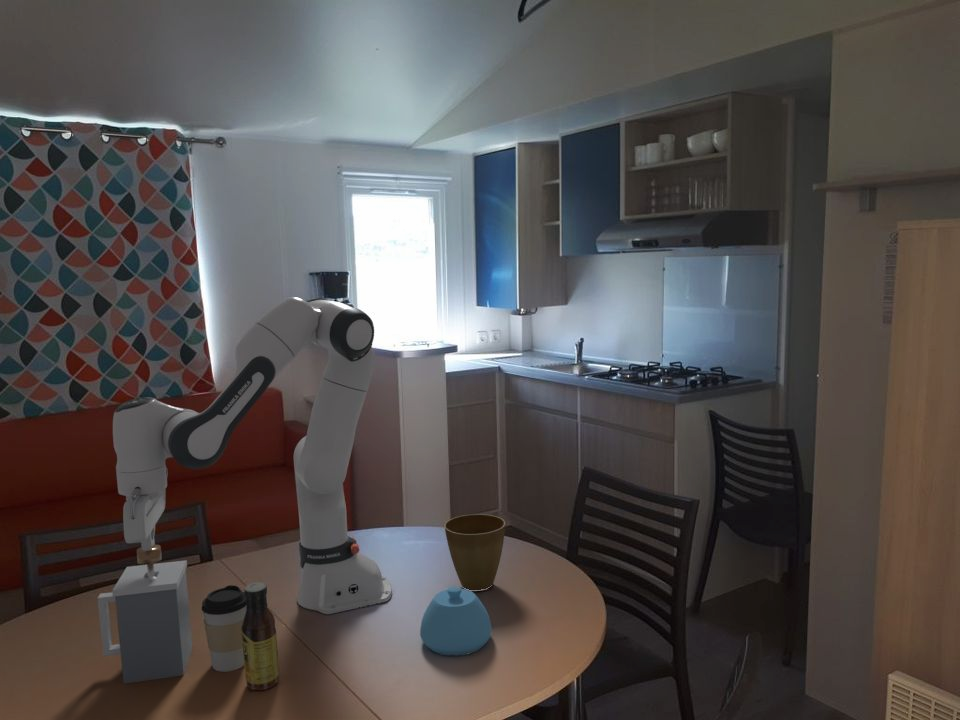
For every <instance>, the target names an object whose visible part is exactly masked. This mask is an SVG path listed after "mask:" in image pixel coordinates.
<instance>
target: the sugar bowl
mask: <svg viewBox="0 0 960 720" xmlns="http://www.w3.org/2000/svg"><path fill="white" fill-rule="evenodd" d="M492 633H493V632H492V622H491V619H490V616H489V613H488V611H487V609H486V607H485V606H484V604H483V603H482V601H481V600H480V598H479V597H478V596H477V595H476V594H475V592H471V591H469V590H466V589H464V588H462V587H460V586H450V587H448V588H447V589H444V590H441V591H439V592H438V593H436V594H435V595H434V596H433V598H431V600H430V602H429V604H428V606H427V607H426V609H425V611H424V612H423V616H422V618H421V623H420V630H419V634H420V639H421V640H422V642H423V643H424V645H425V646H426V647H427V648H428V649H430V651H432V652H434V653H436V652H437V653H436V654H438V653H440V654H439V655H442V654H444V655H443V656H447V655H461V656H464V655H463V654H466V655H469V654H468V653H470V654H472V653H471V652H473V653H475V652H477V651H479V650H480V649H482V648H483V647H484V646H485V644H487V642H488V641H489V640H490V638H491V636H492ZM478 649H479V650H478ZM476 650H477V651H476ZM474 651H475V652H474Z"/></svg>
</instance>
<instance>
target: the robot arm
mask: <svg viewBox="0 0 960 720" xmlns="http://www.w3.org/2000/svg"><path fill="white" fill-rule="evenodd" d="M374 325H375V324H374V322H373V320H372V318H371V317H370V316H369V315H368V314H367V313H366V312H365V311H363V310H362V309H359V308H358V307H357V308H356V307H353V306H351V305H349V304H346V303H343V302H342V301H341V302H340V301H333V300H328V299H326V298H322V297H321V298H320V297H314V298H309V299H306V300H304V299H302V298H301V297H296V296H288V297H286V298H285V299H283V300H281V301H280V302H278V303H277V304H276V305H274V306H273V307H271V309H269V310H268V311H267V312H265V313H264V314H263V315H262V316H261V317H260V318H258V320H257V321H255V323H254V324H253V325H252V326H251V327H250V328H249V329H248V330H247V331H246V332H245V334H244V335H243V336H242V338H241V339H240V340H239V342H238V343H237V345H236V347H235V353H234V354H235V356H234V357H235V361H236V369H235V370H236V371H235V374H234V376H233V378H232V379H231V380H230V382H229V383H228V384H227V385H226V387H225V388H224V389H223V390H222V391H221V392H220V394H218V396H216V398H215V399H214V400H213V402H212V403H211V404H210V405H209V406H208V407H207V408H206V409H204V410H203V411H202V412H197V411H195V410H193V409H189V408H182V407H176V406H173V405H169V404H167V403H164V402H162V401H159V400H157V399H156V398H154V397H151V396H146V397H145V396H144V397H138V398H134V399H131V400H128V401H125V402H123V403H122V404H120V405H119V406H118V407H117V408H116V409H115V411H114V413H113V418H112V439H113V440H112V441H113V442H112V443H113V448H114V451H115V454H116V460H117V461H116V465H115V472H116V473H115V474H116V483H117V493H118V494H119V495H121V496H125V502H124V504H123V508H122V510H123V511H122V512H123V513H122V515H123V517H122V520H123V522H122V523H123V535H124V536H123V537H124V541H125V542H126V544H137V543H141V547H142V551H151V550H152V548H153V546H154V545H156V543H155V532H156V525H157V523H158V522H159V520H160V518H161V516H162V514H163V513H164V511H165V508H166V494H167V493H166V491H167V490H166V488H167V487H168V476H169V474H168V472H169V471H168V468H167V465H166V460H167V459H169V458H173V459H174V461H176V463H178V465H180V466H182V467H184V468H185V469H188V470H202V469H207V468H208V467H211V466H212V465H214V464H216V463H217V462H218V461H219V460H220V458H221V457H222V456H223V454H224V452H225V451H226V448H227V445H228V443H229V440H230V437H231V435H232V433H233V432H234V430H235V429H236V427H237V426H238V424H239V423H240V422H241V421H242V420H243V419H244V417H245V416H247V414H248V413H249V411H250V410H251V409H252V408H253V407H254V405H255V404H256V403H257V401H258V400H260V398H261V396H263V394H264V393H265V392H266V390H267V389H268V388H269V386H270V385H271V384H272V383H273V382H274V380H275V379H276V378H277V377H278V376H279V375H280V374H281V373H282V372H283V371H284V370H285V368H286V367H288V365H290V363H291V362H292V361H293V360H294V359H295V358H296V357H297V355H299V353H301V351H302V350H303V349H304V348H305V347H306V346H308V345H309V344H314V345H315V346H318V347H319V348H321V349H324V350H327V354H328V359H327V360H328V361H327V364H326V366H325V368H324V371H323V374H322V377H321V379H320V383H319V386H318V389H317V392H316V395H315V399H314V401H313V405H312V407H311V408H312V409H311V413H310V418H309V422H308V428H307V432H306V435H305V436H304V437H302V438H301V439H300V440H299V442H298V443H297V444H296V446H295V448H294V452H293V467H294V477H295V478H294V480H295V489H296V498H297V509H298V518H299V519H298V520H299V533H300V534H299V536H300V537H299V538H300V541H299V543H298V545H299V546H298V558H299V560H298V562H299V564H300V567H301V568H300V569H301V571H300V584H299V590H298V594H297V595H298V596H297V598H296V599H297V604H298V605H299V606H301V607H303V608H305V609H307V610H313V611H317V612H320V613H322V614H324V615H331V614H332V615H333V614H336V613H340V612H345V611H350V610H354V609H359V607H360V608H362V607H363V606H364V607H368V606H367V605H369V606H374V605H377V604H376V603H378V604H381V603H382V602H383V603H386V602H388V601H389V600H390V599H391V597H392V595H393V587H392V584H391V582H390V580H389V579H388V578H387V577H385V576H383V575H382V572H381V569H380V567H379V565H378V564H377V563H376V561H375V560H374V559H372V558H370V557H368V556H366V555H365V554H363V553H361V552H360V545H359V544H358V543H357V540H356V539H355V537H354V536H349V535H348V523H347V522H348V521H347V520H348V518H347V506H346V500H345V499H346V498H345V493H344V482H345V480H346V477H347V472H348V467H349V465H350V464H349V463H350V459H351V455H352V450H353V448H354V447H353V445H354V441H355V437H356V431H357V425H358V422H359V418H360V415H361V413H362V409H363V406H364V403H365V401H366V398H367V394H368V391H369V388H370V384H371V380H372V375H373V372H374V365H375V357H376V355H375V350H374V348H373V342H374V337H375V326H374ZM364 607H363V608H364Z"/></svg>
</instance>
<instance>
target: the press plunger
mask: <svg viewBox="0 0 960 720" xmlns="http://www.w3.org/2000/svg"><path fill="white" fill-rule="evenodd" d="M161 547H162V546H161V545H160V544H154V546H153V548H152V550H151V551H142V546H141V547H138V548H137V549H136V558H137V559H136V560H137V564H138V565H147V571H148V578H149V577H155V575H154V564H157V563H158V562H160V561H161V560H162V557H163V556H162V548H161Z"/></svg>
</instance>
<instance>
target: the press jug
mask: <svg viewBox="0 0 960 720" xmlns="http://www.w3.org/2000/svg"><path fill="white" fill-rule="evenodd" d="M153 564H154V575H155V577H149V578H148V571H147V565H141V564H139V565H132V566H126V568H125V569H124V571H123V573H122V574H121V576H120V577H119V579H118V580H117V582H116V584H115V586H114V587H113V588H112V591H111V592H103V593H102V592H101V593H99V595H98V597H97V607H98V616H99V617H98V618H99V626H100V636H101V637H100V638H101V643H102V644H101V645H102V656H103V657H109V656H117V655H118V656H119V655H120V659H121V661H120V663H121V671H122V680H123V681H122V682H123V684H124V685H125V684H132V683H138V682H146V681H152V680H153V681H154V680H161V679H165V678H175V677H181V676H184V675H185V673H186V669H187V667H188V662H189V660H190V657H191V654H192V651H193V641H192V626H191V617H190V608H189V607H190V605H189V593H188V584H187V583H188V581H187V571H186V570H187V567H188V560H177V561H170V562H169V561H168V562H159V563H158V562H157V563H153ZM109 603H115V607H116V608H115V610H116V622H117V629H118V630H117V631H118V641H119V643H118V644H117V643H116V644H113V641H112V632H111V631H112V630H111V621H110V620H111V619H110V612H109Z"/></svg>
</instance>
